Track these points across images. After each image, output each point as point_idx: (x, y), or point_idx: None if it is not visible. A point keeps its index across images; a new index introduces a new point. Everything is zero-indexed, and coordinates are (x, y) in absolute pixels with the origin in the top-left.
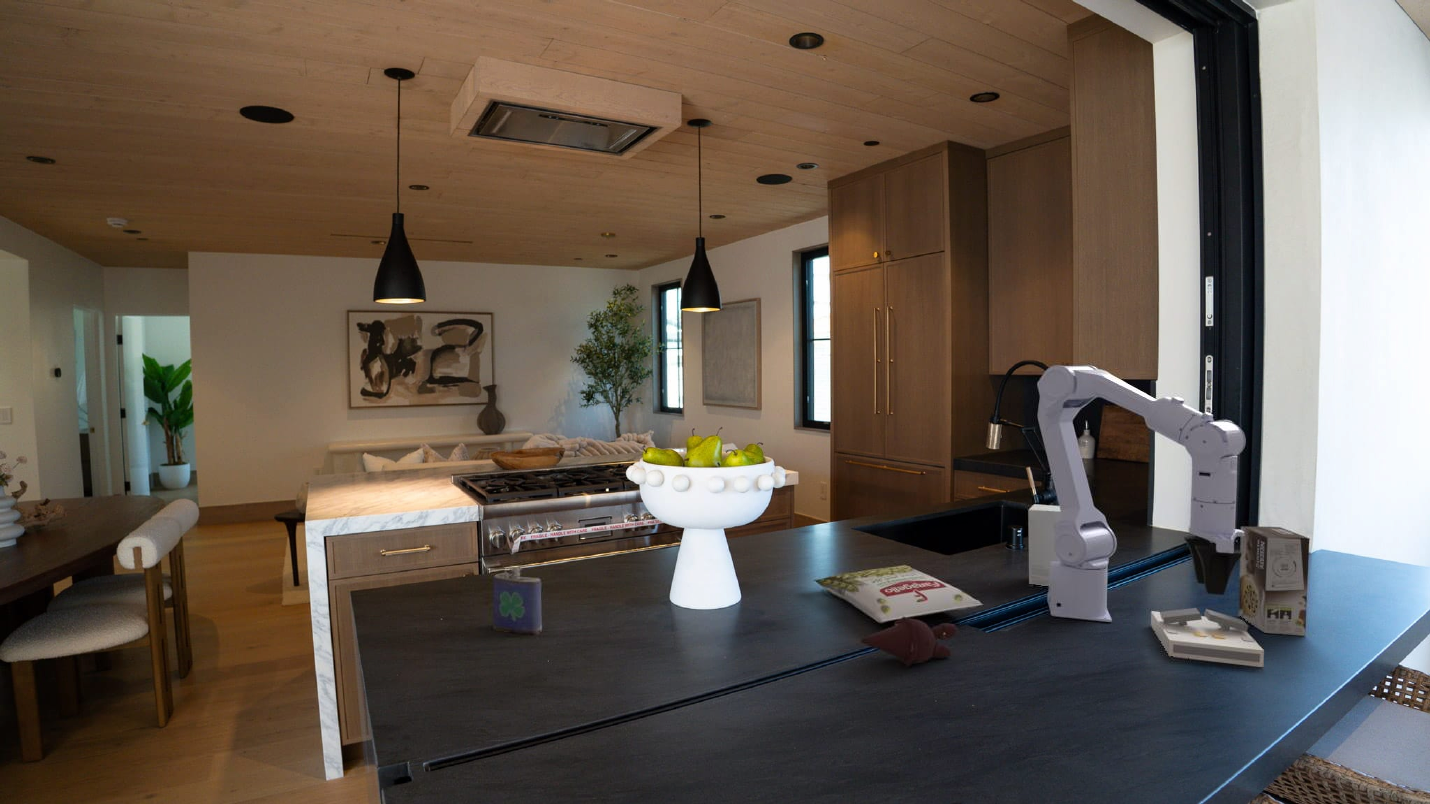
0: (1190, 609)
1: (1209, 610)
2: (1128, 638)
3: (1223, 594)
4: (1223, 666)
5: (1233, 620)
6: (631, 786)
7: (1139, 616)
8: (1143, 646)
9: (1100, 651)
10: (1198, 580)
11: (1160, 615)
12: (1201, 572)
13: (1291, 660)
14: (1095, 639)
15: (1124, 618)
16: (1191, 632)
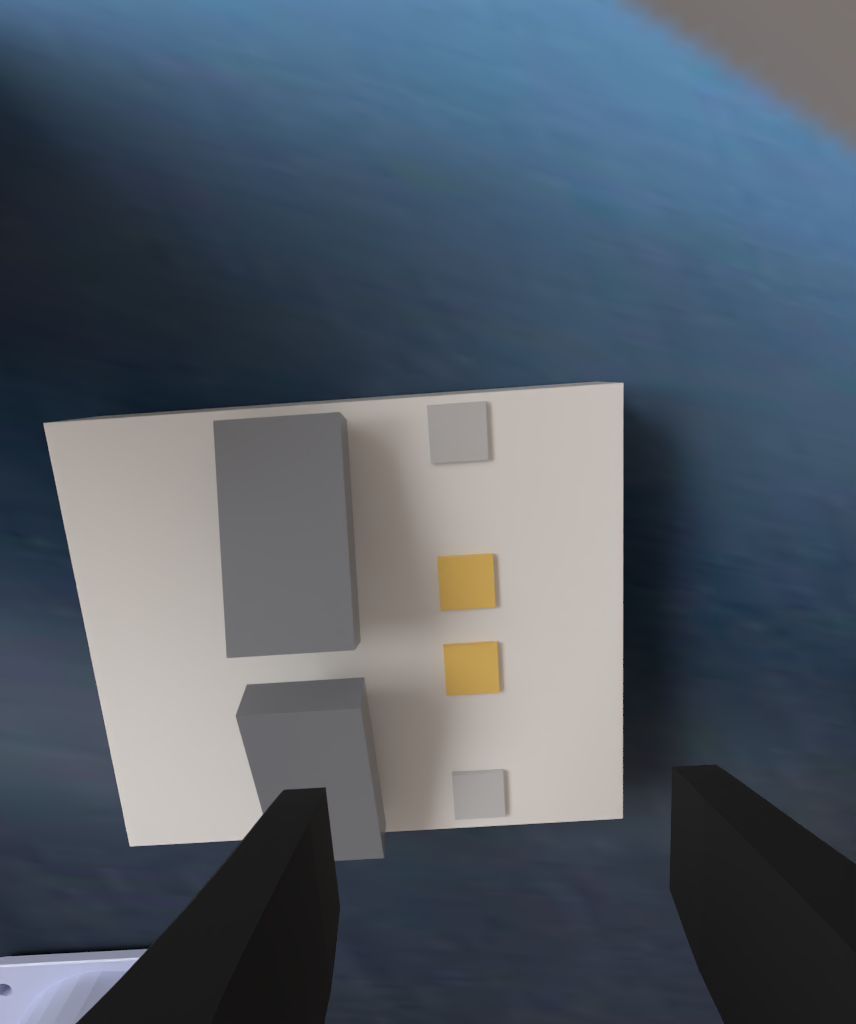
0: (262, 742)
1: (240, 637)
2: (413, 890)
3: (721, 768)
4: (647, 560)
5: (313, 499)
6: None
7: (31, 820)
8: (500, 844)
9: (636, 996)
10: (334, 936)
11: (191, 812)
12: (314, 1009)
13: (421, 206)
14: (487, 1005)
15: (106, 884)
16: (442, 703)
